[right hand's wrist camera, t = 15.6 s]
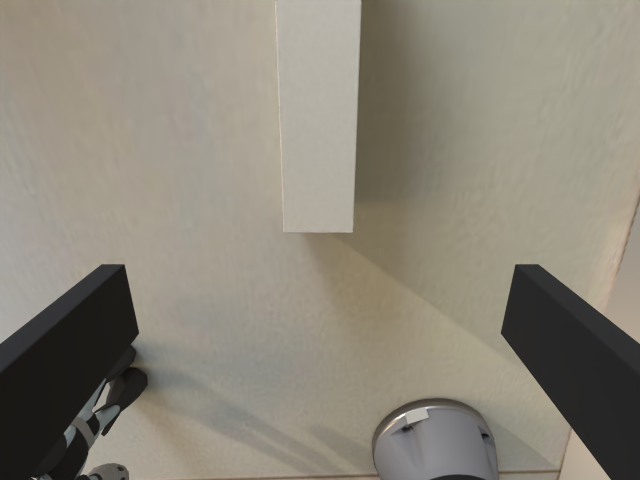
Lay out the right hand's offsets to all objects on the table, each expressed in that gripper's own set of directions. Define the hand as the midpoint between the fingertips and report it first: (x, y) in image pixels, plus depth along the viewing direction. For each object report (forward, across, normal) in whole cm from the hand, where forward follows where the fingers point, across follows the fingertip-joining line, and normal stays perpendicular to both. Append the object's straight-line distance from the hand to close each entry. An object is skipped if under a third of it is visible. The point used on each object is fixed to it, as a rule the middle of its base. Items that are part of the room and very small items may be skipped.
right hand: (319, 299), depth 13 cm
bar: (+24, 0, -9) cm, 26 cm away
